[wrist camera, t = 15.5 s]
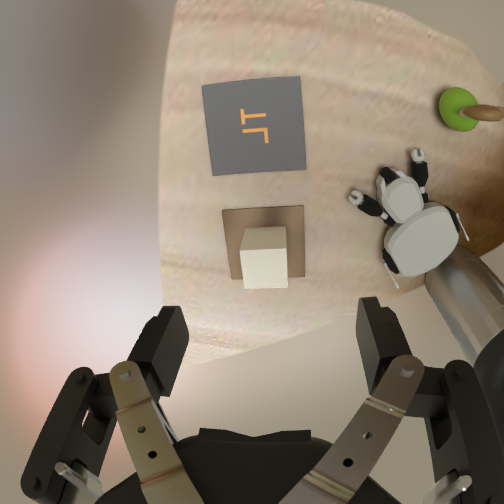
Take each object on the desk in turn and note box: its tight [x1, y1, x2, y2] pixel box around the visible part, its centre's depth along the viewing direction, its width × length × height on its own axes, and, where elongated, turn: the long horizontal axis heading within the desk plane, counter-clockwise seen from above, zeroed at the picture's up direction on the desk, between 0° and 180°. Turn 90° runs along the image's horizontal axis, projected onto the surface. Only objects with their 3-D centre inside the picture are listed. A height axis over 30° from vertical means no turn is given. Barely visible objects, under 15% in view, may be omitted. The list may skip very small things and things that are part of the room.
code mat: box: [202, 76, 306, 176], centre depth 31 cm, size 11×11×1 cm
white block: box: [239, 226, 288, 289], centre depth 36 cm, size 5×5×6 cm
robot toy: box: [348, 149, 469, 289], centre depth 33 cm, size 12×4×15 cm
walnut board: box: [222, 206, 305, 279], centre depth 38 cm, size 10×10×1 cm
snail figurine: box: [439, 87, 504, 132], centre depth 22 cm, size 5×6×12 cm
